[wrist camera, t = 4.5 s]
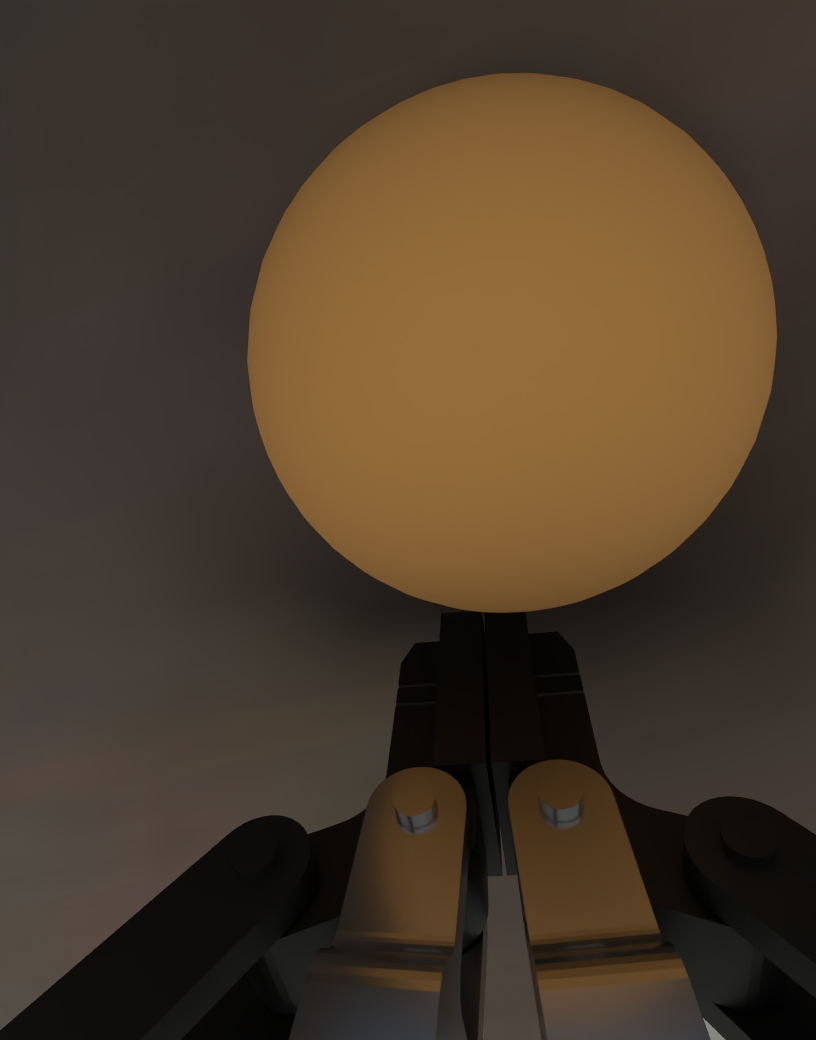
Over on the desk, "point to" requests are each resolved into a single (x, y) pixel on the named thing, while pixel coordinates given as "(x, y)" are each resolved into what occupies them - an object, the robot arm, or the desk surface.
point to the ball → (512, 342)
